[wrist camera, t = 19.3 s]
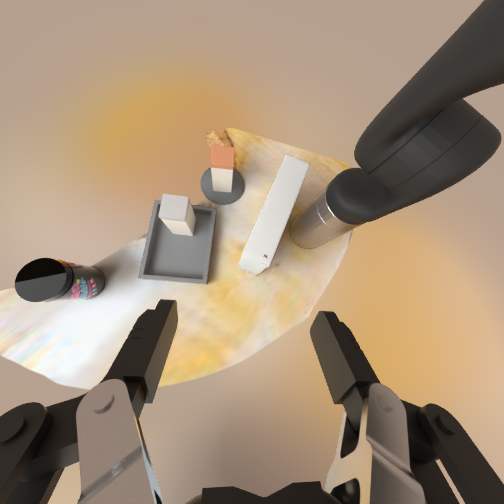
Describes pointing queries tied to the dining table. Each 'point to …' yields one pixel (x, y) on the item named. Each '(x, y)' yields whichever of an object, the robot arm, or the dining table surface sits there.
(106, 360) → the dining table surface
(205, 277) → the parts tray
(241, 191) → the slate mat
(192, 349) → the dining table surface
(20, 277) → the supplement container
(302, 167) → the skincare box
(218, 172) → the rust lid box
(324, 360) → the robot arm
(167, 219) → the white lid box
